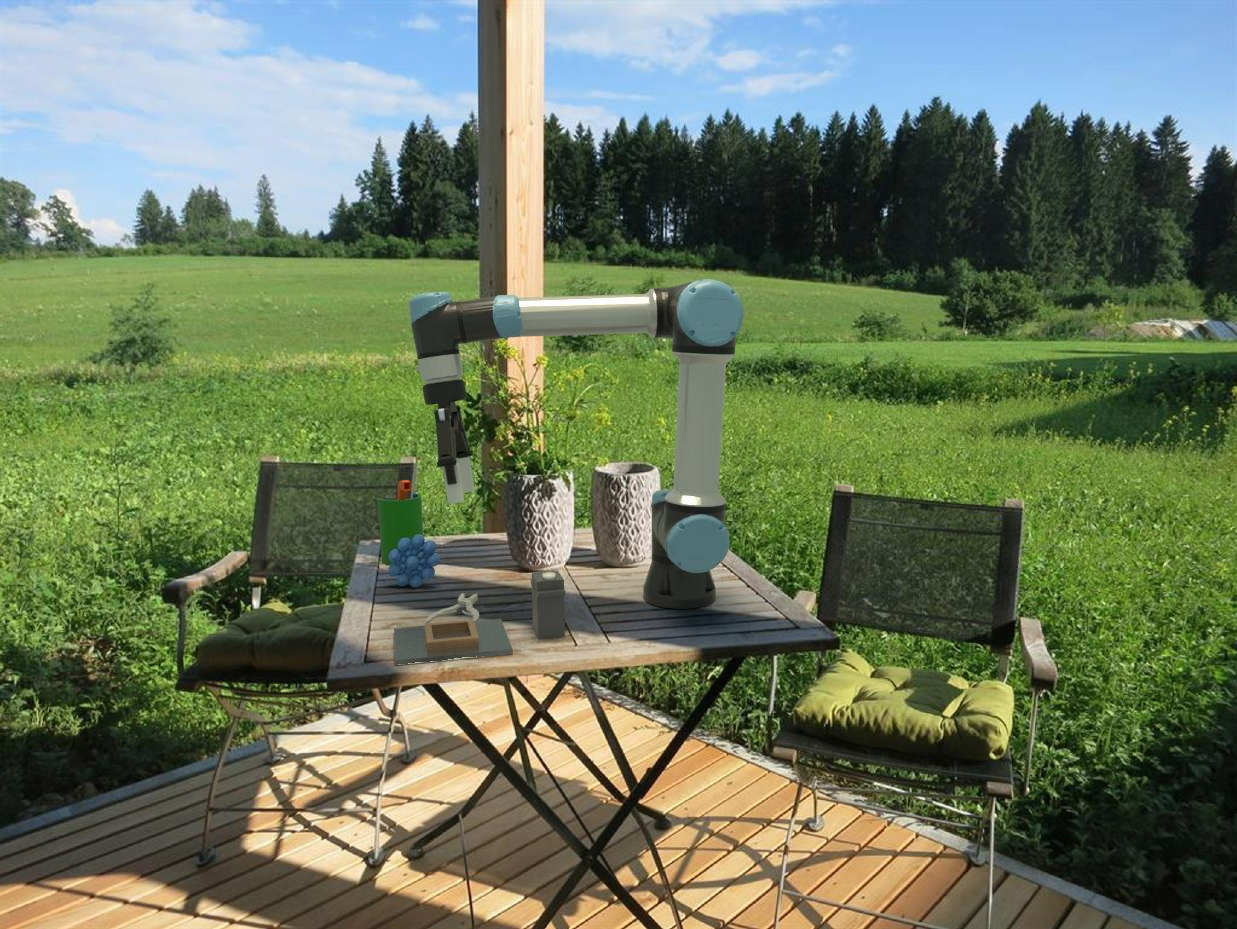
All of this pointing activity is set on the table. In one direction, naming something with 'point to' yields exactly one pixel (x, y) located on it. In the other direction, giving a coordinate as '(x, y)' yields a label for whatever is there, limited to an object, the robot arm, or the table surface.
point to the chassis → (451, 641)
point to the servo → (548, 604)
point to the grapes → (413, 561)
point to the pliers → (461, 603)
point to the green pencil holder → (399, 519)
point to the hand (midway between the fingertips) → (462, 497)
